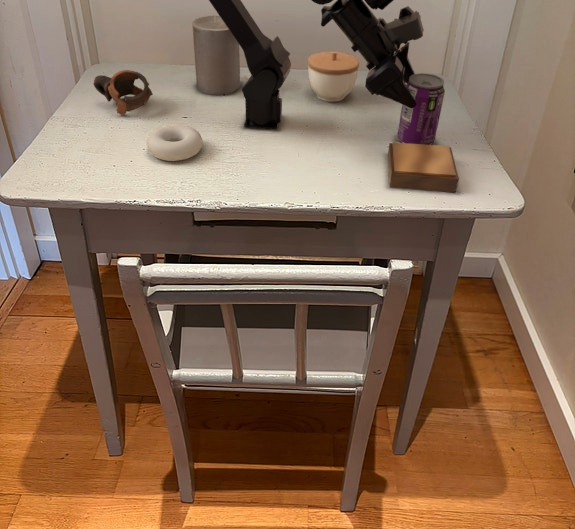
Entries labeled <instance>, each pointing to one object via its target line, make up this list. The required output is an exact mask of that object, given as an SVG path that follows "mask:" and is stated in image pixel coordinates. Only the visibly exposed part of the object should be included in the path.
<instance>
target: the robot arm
mask: <svg viewBox="0 0 575 529" xmlns="http://www.w3.org/2000/svg"><path fill="white" fill-rule="evenodd" d="M394 1H395V0H336V1H334V0H311V2H313V3H314V4H317V5H319V6H320V5H322V8H321V9H320V12H321V20H320V26H321V27H323V28H324V27H326V26H327V25H328V24H329V23H330V22H331V21H333V22H334V23H335V25H336V26H337V27H338V28H339V30H341V32H342V33H343V34H344V35H345V37H346V38H347V39H348V41H349V42H350V43H351V44H352V45H351V46H350V48H351V50H352V51H353V52H354V53H357V52H358V53H359V54H360V55H361V57H362V58H363V59H364V60H365V61H366V65H365V67H366V68H367V69H368V72H367V75H366V78H365V85H364V86H365V87H364V88H366V90H367V91H368V92H369V93H370V95H372V96H373V95H376V96H381V97H384V98H387V99H389V100H392V101H393V102H396V103H398V104H401V105H402V104H403V105H405V106H407V107H409V108H414V107H415V106H416V105H417V103H416V101H415V99H414V98H413V96H412V94H411V92H410V90H409V89H408V87H407V83H408V82H409V77H410V76H411V75H414V74H416V72H415V70H414V67H413V65H412V63H411V61H410V58H409V50H410V42H411V41H417V40H419V39H421V38H423V36H424V31H425V29H424V26H423V22H422V19H421V18H422V16H421V14H420V12H419V11H418V10H415V11H414V10H413V9H412V8H411V7H410V6H409V5H407V6H405V7H402V8H400V10H399V14H398V18H394V19H393V20H392V21H389V22H386V20H385V19H384V17H379V18H378V17H377V16H376V15H375V14H374V12H372V10H375V11H377V10H378V9H379V10H381V11H383V10H384V9H386V8H387V7H388V6H390V4H391V3H393V2H394ZM208 2H209V4H211V5H212V7H213V9H214V10H215V12H216V13H217V15H218V16H220V17H221V19H222V20H223V22H224V23H225V24H226V26H227V27H228V29H229V30H230V32H231V33H232V35H233V36H234V38H235V39H236V40H237V42H238V43H239V47H240V48H241V49H242V51H243V54H244V59H245V61H246V65H247V69H248V71H249V73H250V76H249V78H248V79H247V81H246V82H245V83H244V85H243V87H242V88H241V92H242V95H243V97H244V99H245V100H244V101H245V102H244V104H245V106H244V108H245V121H244V124H243V128H246V129H248V128H249V129H263V130H277V129H278V127H279V124H280V123H281V121H282V118H283V98H282V97H280V89H281V88H282V87H283V84H284V83H285V81H286V79H287V78H288V76H289V74H290V73H291V68H292V62H291V59H290V55H291V53H290V52H289V51H288V50H287V49H286V48H285V47H284V45H283V43H282V41H281V39H280V37H279V36H278V35H277V36H276V37H274V38H273V39H271V38H269V37H268V36H266V35H265V34H264V33H263V32H262V30H261V29H260V27H259V26H258V24H257V23H256V21H255V19H254V18H253V17H252V15H251V14H250V12H249V11H248V9H247V8H246V6H245V5H244V3H243V2H242V0H208ZM332 2H333V4H331V5H330V6H328V4H330V3H332ZM371 9H372V10H371ZM402 44H404V45H402Z"/></svg>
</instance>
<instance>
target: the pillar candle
mask: <svg viewBox="0 0 575 529" xmlns="http://www.w3.org/2000/svg"><path fill="white" fill-rule="evenodd" d="M192 36H193V37H192V38H193V51H194V52H193V53H194V65H195V66H194V67H195V80H196V88H197V89H198V91H200V92H201V93H204V94H208V95H214V96H215V95H216V96H218V95H219V96H220V95H229V94H232V93H234V92H235V91H237V90H239V89H240V88H241V69H240V68H241V64H240V62H241V61H240V45H239V43H238V42H237V40H236V39H235V38H234V36H233V35H232V33H231V32H230V30H229V29H228V27H227V26H226V24H225V23H224V22H223V20H222V19H221V17H220V16H219V15H205V16H201V17H198V18H195V19H194V20H193V21H192Z"/></svg>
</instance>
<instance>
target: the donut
mask: <svg viewBox="0 0 575 529" xmlns="http://www.w3.org/2000/svg"><path fill="white" fill-rule="evenodd" d="M203 141H204V140H203V137H202V135H201V133H200V132H199V131H198V130H196V129H195V128H194V127H192V126H189V125H185V124H169V125H168V124H167V125H164V126H160V127H157V128H156V129H154V130H153V131H152V132H150V133H149V134H148V137H147V139H146V148H147V150H148V152H149V153H150V154H151V155H152V156H153V157H155V158H157V159H159V160H162V161H168V162H177V161H184V160H187V159H190V158H192V157H194V156H196V155H197V154H199V152H200V151H201V150H202V148H203V143H204V142H203Z"/></svg>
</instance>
